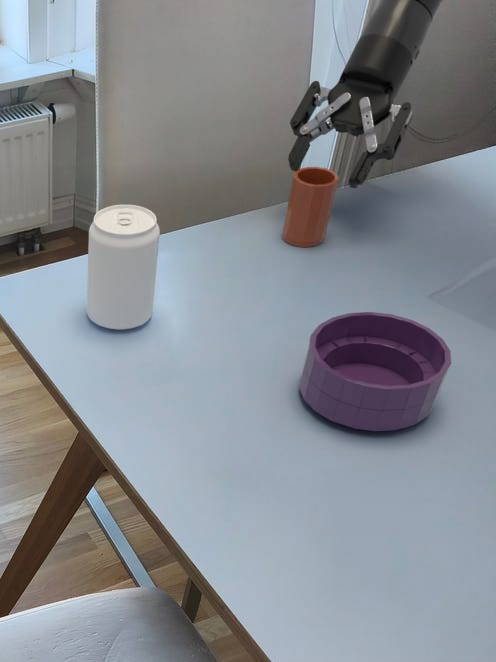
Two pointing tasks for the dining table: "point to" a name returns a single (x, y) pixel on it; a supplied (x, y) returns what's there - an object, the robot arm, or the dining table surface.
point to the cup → (309, 206)
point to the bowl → (374, 371)
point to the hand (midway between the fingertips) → (322, 176)
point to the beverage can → (122, 266)
